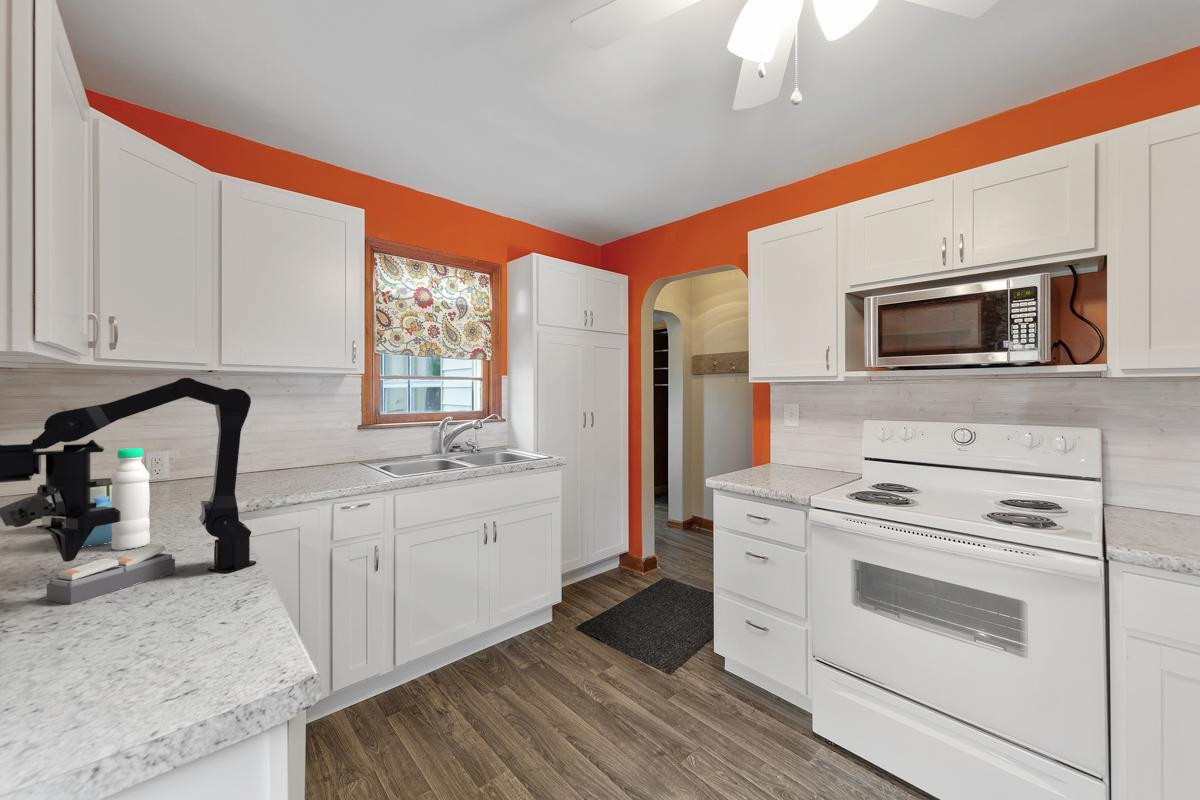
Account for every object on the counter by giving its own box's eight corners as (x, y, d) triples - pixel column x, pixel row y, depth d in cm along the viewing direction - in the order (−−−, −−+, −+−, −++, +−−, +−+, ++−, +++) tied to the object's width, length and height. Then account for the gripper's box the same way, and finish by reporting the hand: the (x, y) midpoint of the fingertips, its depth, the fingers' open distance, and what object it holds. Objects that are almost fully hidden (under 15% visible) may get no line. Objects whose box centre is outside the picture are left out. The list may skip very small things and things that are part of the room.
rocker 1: (118, 564, 98) (118, 559, 97) (72, 580, 91) (71, 574, 91) (105, 562, 99) (104, 557, 99) (58, 578, 92) (57, 572, 92)
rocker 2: (165, 549, 105) (163, 545, 105) (127, 568, 99) (125, 563, 99) (152, 548, 107) (151, 543, 106) (113, 566, 100) (112, 561, 100)
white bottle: (126, 552, 120) (125, 450, 120) (103, 550, 122) (103, 449, 122) (157, 543, 127) (156, 447, 127) (135, 542, 129) (135, 446, 129)
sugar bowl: (154, 534, 136) (153, 492, 136) (84, 550, 121) (84, 504, 121) (116, 531, 140) (116, 490, 140) (44, 546, 125) (44, 501, 125)
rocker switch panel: (175, 572, 106) (175, 554, 106) (70, 604, 90) (70, 583, 90) (152, 569, 108) (152, 551, 108) (46, 600, 92) (46, 579, 92)
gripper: (-26, 482, 87) (-26, 570, 87) (40, 487, 81) (40, 581, 81) (58, 473, 98) (58, 551, 98) (122, 477, 92) (122, 560, 92)
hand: (68, 561), depth 92 cm, fingers closed
